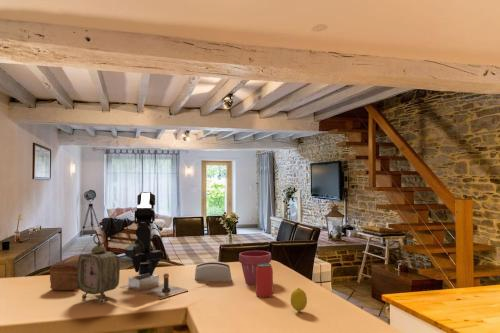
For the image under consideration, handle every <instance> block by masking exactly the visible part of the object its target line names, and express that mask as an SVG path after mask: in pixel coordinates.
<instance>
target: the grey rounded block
mask: <svg viewBox="0 0 500 333" xmlns="http://www.w3.org/2000/svg"><path fill="white" fill-rule="evenodd" d="M194 280H195V281H200V282H204V281H222V282H228V283H229V282H232V274H231V268H230V264H228V263H226V262H222V261H214V260H213V261H206V262H205V261H204V262H200V263H198V264H196V267H195V272H194Z"/></svg>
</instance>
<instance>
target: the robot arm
mask: <svg viewBox="0 0 500 333" xmlns="http://www.w3.org/2000/svg"><path fill="white" fill-rule="evenodd" d="M136 200H137V201H136V202H137V205H136V209H134V220H133V221H134V222H133V224H136V226H137V227H136V230H135V236H136V239H135V238H134V242H133V243H132V244H130V245H128V246H126V247H124V255H125V256H126V257H127V258H128V259H130V261H131V262H132V265H133V267H134V271H135V273H138V275H142V274H146V273H149V274H150V275H152V274H154V272H155V269H156V268H157V265H158V264H159V262H160V260H162V259H163V258H164V251H163V250H159V249H155V250H154V247H153V245H152V242H153V241H154V238H152V225H151V224H154V222H155V221H156V218H155V217H156V212H155V209H154V208H155V206H156V195H155V194H154V193H153V192H152V191H150V190H149V191H148V190H145V191H143V190H142V191H140V193H139V194H138V195H137V199H136Z"/></svg>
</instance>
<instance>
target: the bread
mask: <svg viewBox="0 0 500 333" xmlns="http://www.w3.org/2000/svg"><path fill="white" fill-rule="evenodd" d="M81 254H82V253H80V254H75V255H71V256H69V257H67V258H64V259H62V260H59V261H57V262H55V263H53V264H52V265H51V266H50V267H49V274H50V275H49V282H50V286H49V288H50V289H52V290H54V291H73V290H76V289H79V286H78V272H77V271H78V259H79V256H80V255H81Z"/></svg>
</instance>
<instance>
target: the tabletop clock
mask: <svg viewBox="0 0 500 333" xmlns="http://www.w3.org/2000/svg"><path fill="white" fill-rule="evenodd" d="M97 236H99V237H100V236H101V237H102V239H103V242H101V241H100V240H98V241H96V237H97ZM92 241H93V243H94V244H96V245H95V246H94V247H93V248H92V249H91V252H87V253H80V254H81V255H80V256H79V259H78V271H77V272H78V286H79V288H78V289H79V290H80V291H81V292H84V293H85V294H83V295H81V299H82V300H85V299H87V295H88V294H90V295H98V294H100V299H99V300H98V304H99V305H102V304H104V299H103V297H106V296H107V295H106V294H105V292H109V291H113V290H115V289H116V288H117V287H118V286H119V284H120V274H121V273H120V258H119V256H118V255H117V254H115V253H113V252H110V251H107V249H106V247H105V246H104V244H105V242H106V239H105V236H104V235H103V234H102V233H95V234H94V236H93V240H92Z"/></svg>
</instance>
